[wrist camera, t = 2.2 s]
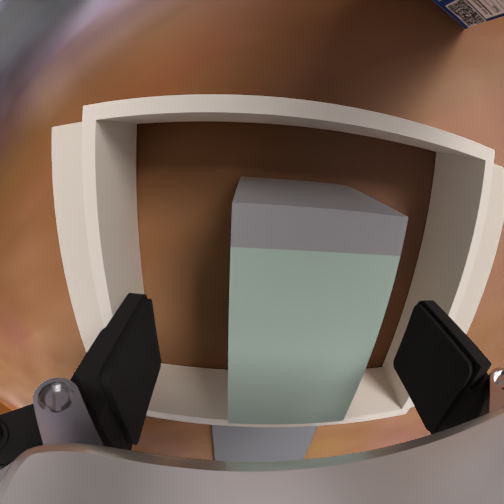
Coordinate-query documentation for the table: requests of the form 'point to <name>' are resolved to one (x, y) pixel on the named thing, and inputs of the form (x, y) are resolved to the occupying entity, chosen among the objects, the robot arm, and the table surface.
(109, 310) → the white rectangular frame
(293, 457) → the mat
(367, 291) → the block
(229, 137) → the table surface
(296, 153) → the table surface
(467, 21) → the beverage box
